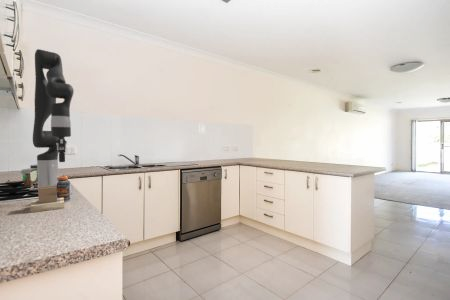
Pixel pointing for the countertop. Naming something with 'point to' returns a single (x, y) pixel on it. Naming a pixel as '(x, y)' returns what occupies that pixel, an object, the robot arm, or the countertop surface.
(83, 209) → the countertop surface
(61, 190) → the pill bottle
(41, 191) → the walnut cube
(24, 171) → the food container
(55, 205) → the tan flat square piece
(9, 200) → the countertop surface
